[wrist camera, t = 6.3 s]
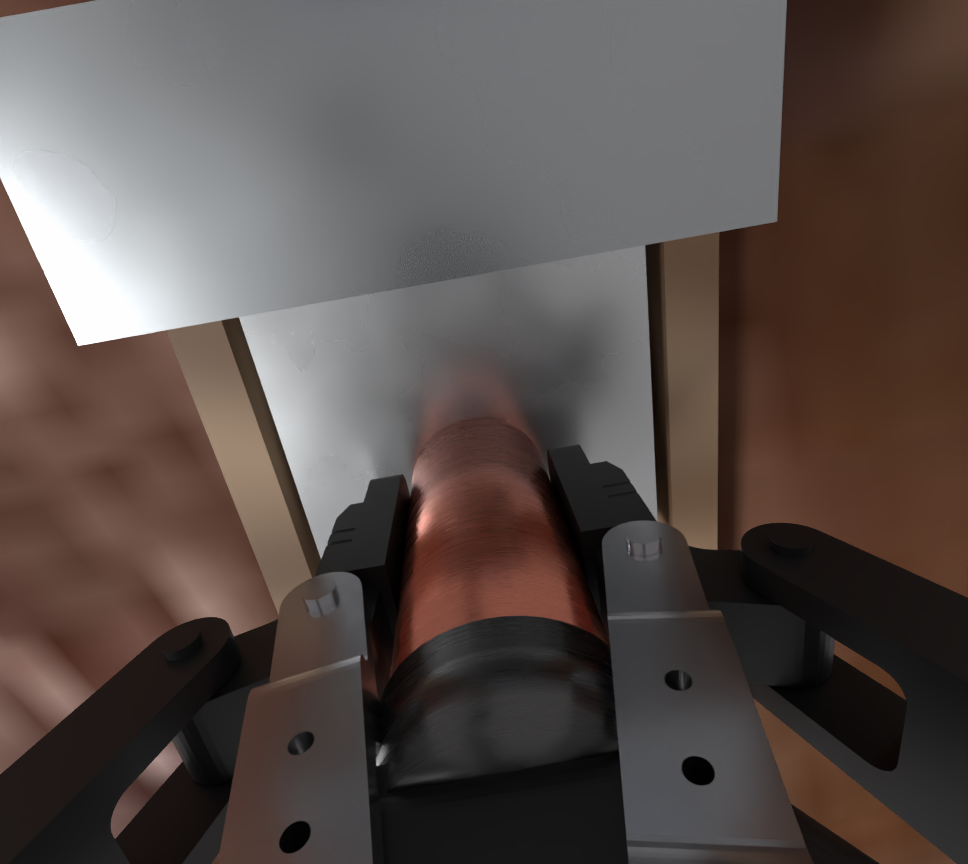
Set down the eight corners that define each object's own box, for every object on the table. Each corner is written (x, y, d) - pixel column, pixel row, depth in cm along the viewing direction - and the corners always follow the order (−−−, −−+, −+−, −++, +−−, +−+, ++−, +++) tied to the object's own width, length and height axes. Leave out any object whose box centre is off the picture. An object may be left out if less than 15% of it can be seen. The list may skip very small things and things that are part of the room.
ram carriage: (196, 122, 11) (-648, -123, 3) (616, 46, 11) (1210, -459, 3) (344, 578, 16) (222, 1049, 7) (643, 525, 16) (889, 934, 7)
